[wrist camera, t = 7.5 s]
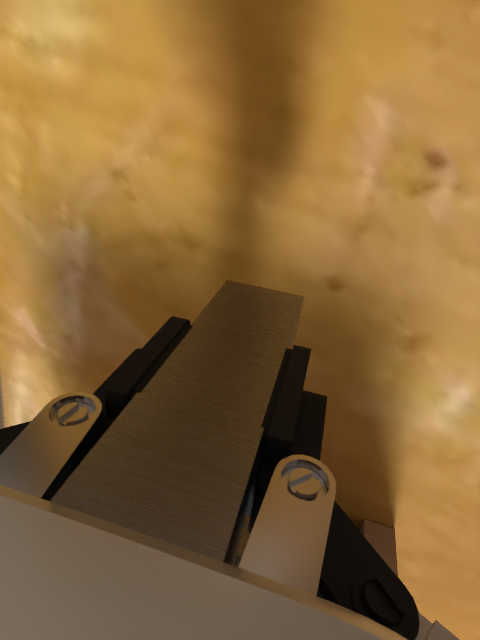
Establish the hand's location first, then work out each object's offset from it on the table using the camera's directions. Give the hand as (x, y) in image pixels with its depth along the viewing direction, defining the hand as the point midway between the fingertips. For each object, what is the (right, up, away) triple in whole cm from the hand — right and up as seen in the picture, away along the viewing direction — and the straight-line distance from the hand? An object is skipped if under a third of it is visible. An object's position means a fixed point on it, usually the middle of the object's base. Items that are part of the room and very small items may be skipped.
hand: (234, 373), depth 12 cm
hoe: (0, -3, +6) cm, 7 cm away
